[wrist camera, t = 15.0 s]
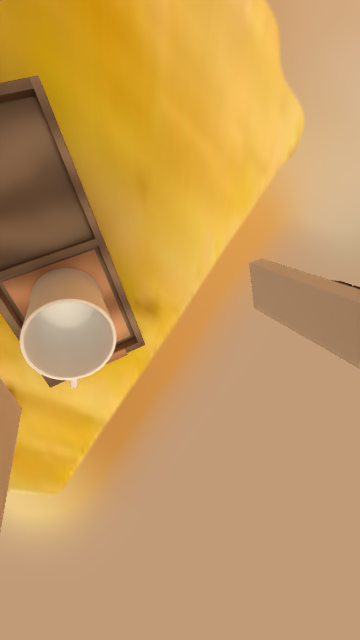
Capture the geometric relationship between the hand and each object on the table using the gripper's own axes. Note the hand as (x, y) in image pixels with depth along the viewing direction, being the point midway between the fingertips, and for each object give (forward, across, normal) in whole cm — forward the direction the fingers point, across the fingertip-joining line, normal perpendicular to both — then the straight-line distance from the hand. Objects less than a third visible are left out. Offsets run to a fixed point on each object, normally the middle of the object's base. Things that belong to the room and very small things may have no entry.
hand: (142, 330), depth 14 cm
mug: (+24, -6, -6) cm, 25 cm away
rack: (+25, -5, +1) cm, 25 cm away
